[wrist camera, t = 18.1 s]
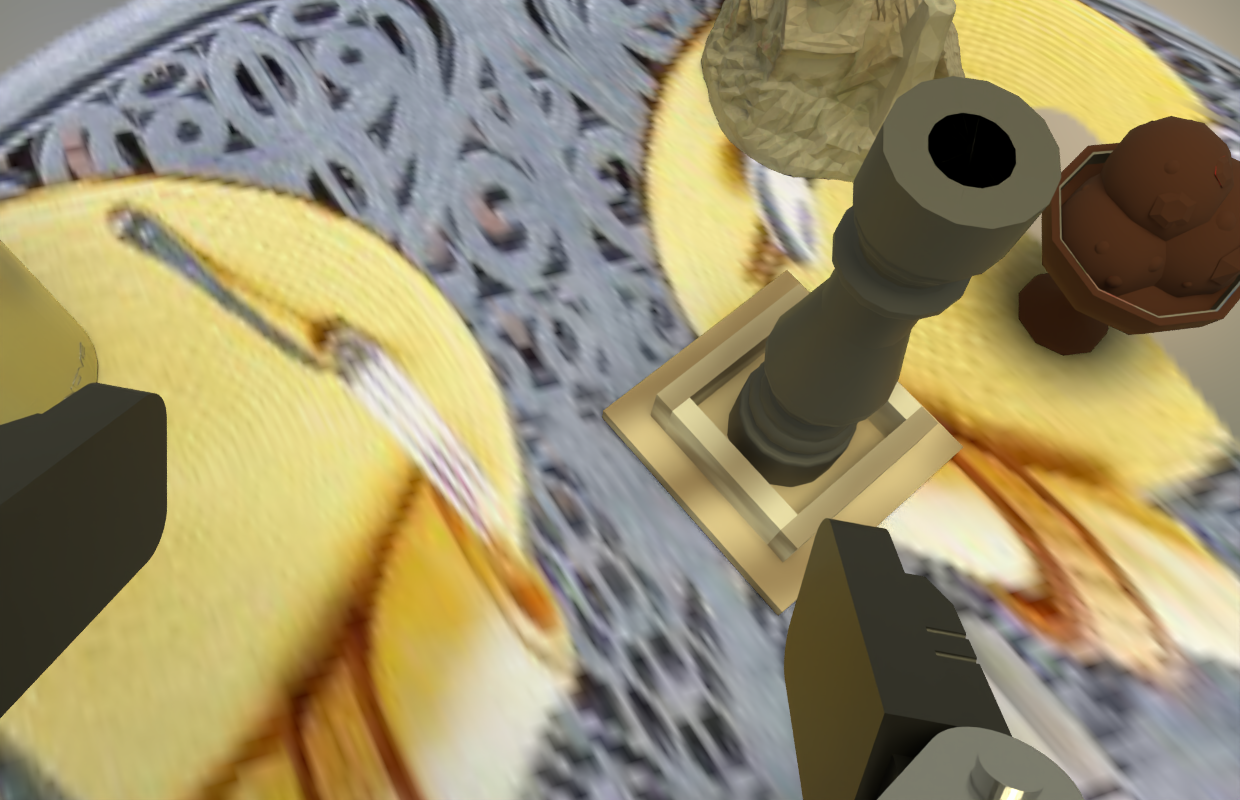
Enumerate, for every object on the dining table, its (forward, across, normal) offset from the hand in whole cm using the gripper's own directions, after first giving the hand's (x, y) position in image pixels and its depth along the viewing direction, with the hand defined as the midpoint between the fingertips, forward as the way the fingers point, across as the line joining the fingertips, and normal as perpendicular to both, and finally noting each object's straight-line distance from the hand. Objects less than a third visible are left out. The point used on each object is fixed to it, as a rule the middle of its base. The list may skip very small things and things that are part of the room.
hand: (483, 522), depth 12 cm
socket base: (+40, -11, +15) cm, 44 cm away
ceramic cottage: (+58, -12, -2) cm, 59 cm away
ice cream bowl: (+48, -27, +7) cm, 55 cm away
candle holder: (+39, -11, +14) cm, 43 cm away
